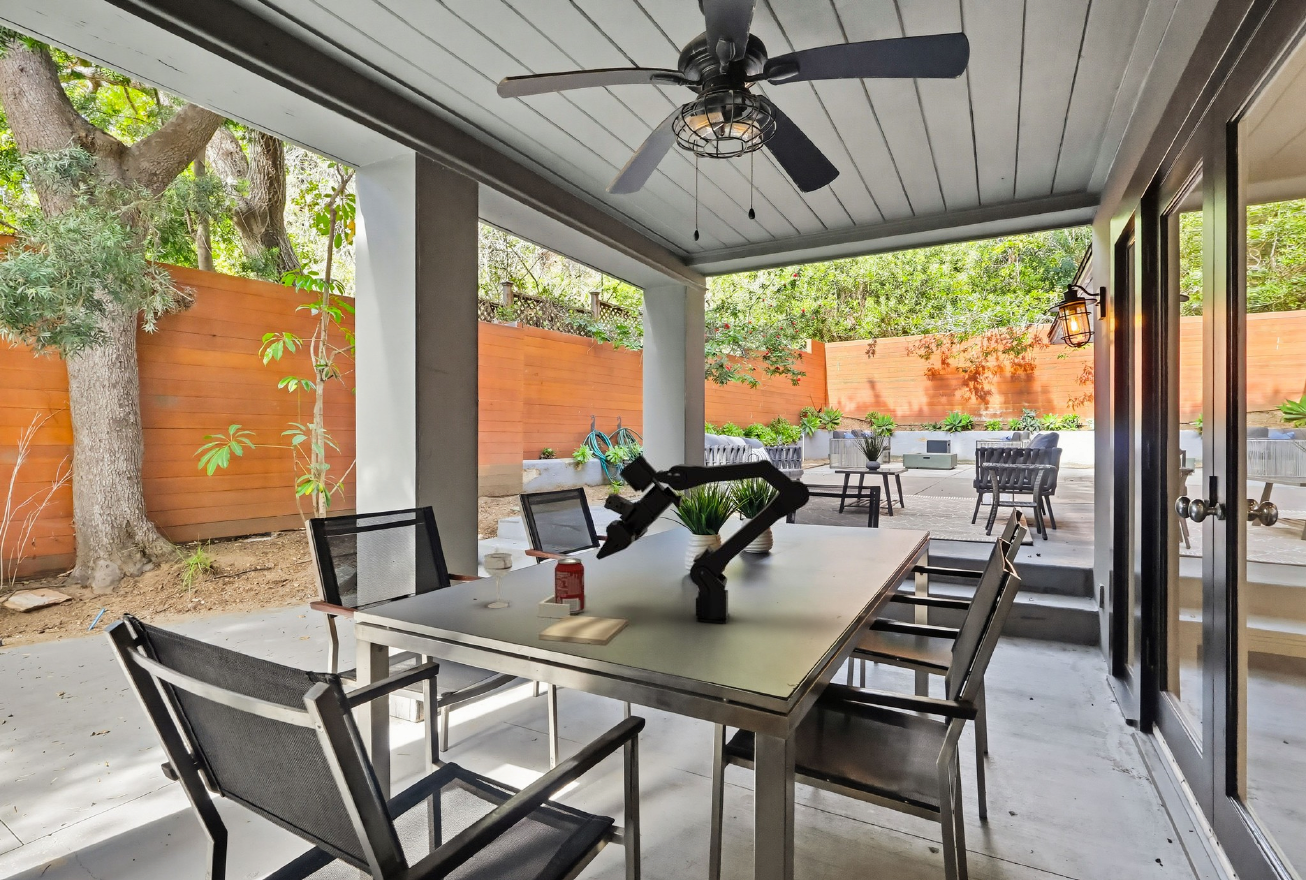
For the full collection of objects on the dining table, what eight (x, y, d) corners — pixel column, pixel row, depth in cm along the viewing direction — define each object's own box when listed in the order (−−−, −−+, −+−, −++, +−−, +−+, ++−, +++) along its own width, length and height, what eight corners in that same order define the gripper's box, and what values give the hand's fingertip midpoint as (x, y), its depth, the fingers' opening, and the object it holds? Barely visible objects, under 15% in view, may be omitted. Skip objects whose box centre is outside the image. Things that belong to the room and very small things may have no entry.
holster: (586, 606, 150) (586, 594, 150) (568, 618, 140) (568, 605, 140) (557, 604, 152) (557, 592, 152) (538, 616, 142) (538, 603, 142)
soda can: (582, 616, 142) (582, 563, 142) (552, 616, 142) (552, 563, 142) (586, 608, 149) (585, 557, 149) (557, 608, 149) (557, 557, 149)
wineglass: (481, 603, 153) (481, 554, 153) (509, 600, 156) (509, 552, 156) (486, 610, 147) (486, 559, 147) (515, 607, 150) (515, 556, 150)
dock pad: (627, 624, 136) (627, 619, 136) (605, 645, 122) (605, 639, 122) (567, 619, 139) (567, 615, 139) (539, 639, 126) (539, 634, 126)
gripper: (634, 479, 152) (590, 523, 154) (615, 484, 134) (565, 534, 136) (666, 512, 151) (621, 556, 153) (652, 522, 133) (601, 572, 135)
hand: (602, 554), depth 144 cm, fingers open, 9 cm apart
